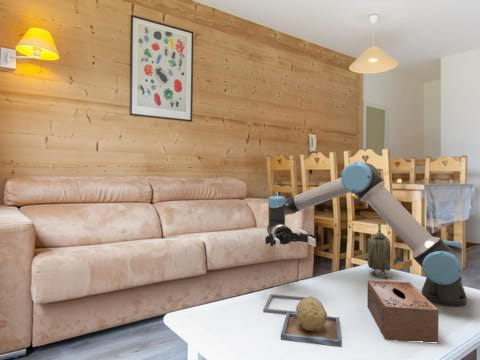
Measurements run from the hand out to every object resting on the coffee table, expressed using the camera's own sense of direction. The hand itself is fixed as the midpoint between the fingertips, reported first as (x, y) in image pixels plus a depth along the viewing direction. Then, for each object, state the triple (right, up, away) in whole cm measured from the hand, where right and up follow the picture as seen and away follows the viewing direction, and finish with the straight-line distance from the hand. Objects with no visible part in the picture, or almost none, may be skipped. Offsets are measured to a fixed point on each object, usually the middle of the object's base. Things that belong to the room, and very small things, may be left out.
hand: (296, 243), depth 127 cm
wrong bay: (-4, -23, 0) cm, 23 cm away
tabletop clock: (+45, -23, +39) cm, 64 cm away
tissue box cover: (+31, -24, -14) cm, 41 cm away
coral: (+1, -23, -20) cm, 30 cm away
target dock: (+1, -23, -20) cm, 31 cm away
